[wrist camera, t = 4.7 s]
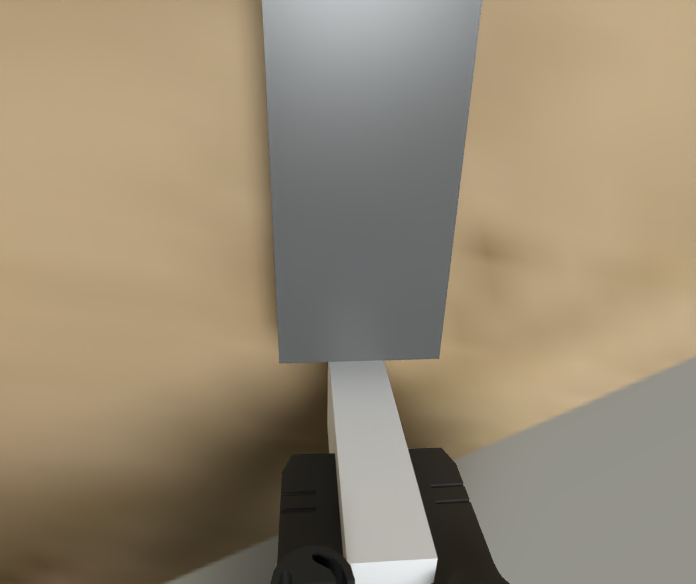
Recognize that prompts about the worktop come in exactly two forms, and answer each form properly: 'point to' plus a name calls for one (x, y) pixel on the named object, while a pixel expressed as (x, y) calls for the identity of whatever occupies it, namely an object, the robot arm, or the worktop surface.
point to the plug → (365, 170)
